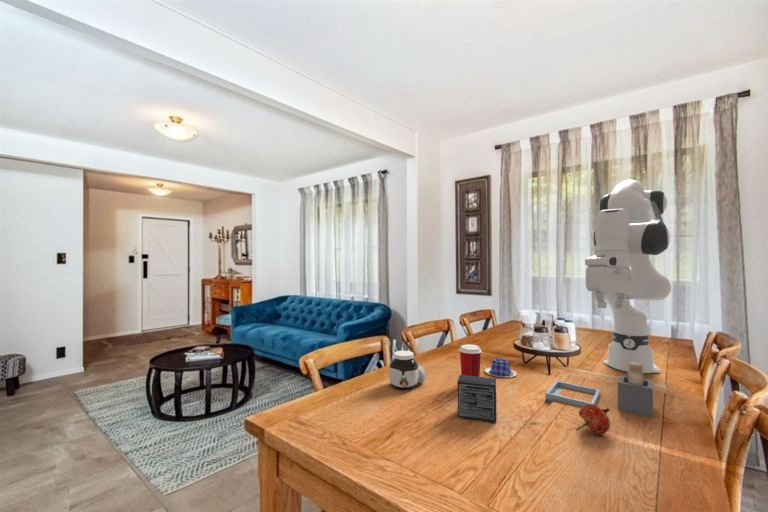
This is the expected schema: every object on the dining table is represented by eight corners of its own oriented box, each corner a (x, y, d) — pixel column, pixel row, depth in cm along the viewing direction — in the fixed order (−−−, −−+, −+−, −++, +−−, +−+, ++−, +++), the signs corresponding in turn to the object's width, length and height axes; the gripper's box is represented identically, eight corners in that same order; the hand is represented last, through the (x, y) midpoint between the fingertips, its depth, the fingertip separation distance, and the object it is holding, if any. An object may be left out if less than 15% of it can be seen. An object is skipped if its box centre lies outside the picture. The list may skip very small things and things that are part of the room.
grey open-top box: (620, 404, 105) (620, 374, 105) (653, 411, 100) (653, 380, 100) (617, 413, 99) (617, 382, 99) (653, 421, 94) (652, 388, 94)
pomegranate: (587, 448, 85) (624, 429, 82) (566, 420, 87) (602, 400, 84) (583, 437, 91) (617, 419, 89) (564, 411, 94) (597, 393, 91)
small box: (496, 413, 99) (496, 377, 99) (496, 424, 92) (496, 385, 92) (459, 408, 102) (459, 373, 102) (457, 418, 96) (457, 380, 96)
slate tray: (556, 387, 118) (556, 380, 118) (600, 397, 110) (600, 389, 110) (545, 400, 107) (545, 393, 107) (593, 412, 99) (593, 404, 99)
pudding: (519, 372, 135) (519, 358, 135) (513, 381, 125) (513, 367, 125) (489, 367, 142) (489, 354, 142) (480, 375, 131) (480, 361, 131)
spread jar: (386, 388, 118) (386, 354, 118) (397, 377, 128) (397, 346, 128) (420, 393, 113) (420, 358, 113) (428, 381, 124) (428, 349, 124)
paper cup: (479, 383, 122) (479, 344, 122) (483, 391, 115) (483, 350, 115) (457, 382, 123) (457, 343, 123) (460, 390, 115) (460, 349, 116)
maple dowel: (628, 405, 102) (628, 361, 102) (643, 408, 99) (643, 364, 99) (627, 409, 99) (627, 364, 99) (643, 412, 97) (643, 367, 97)
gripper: (618, 264, 110) (617, 307, 109) (581, 259, 100) (580, 306, 99) (641, 264, 104) (640, 310, 103) (604, 258, 94) (603, 308, 93)
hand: (610, 308), depth 101 cm, fingers open, 8 cm apart
